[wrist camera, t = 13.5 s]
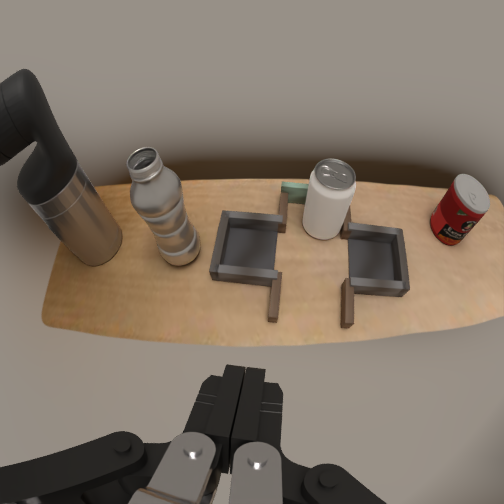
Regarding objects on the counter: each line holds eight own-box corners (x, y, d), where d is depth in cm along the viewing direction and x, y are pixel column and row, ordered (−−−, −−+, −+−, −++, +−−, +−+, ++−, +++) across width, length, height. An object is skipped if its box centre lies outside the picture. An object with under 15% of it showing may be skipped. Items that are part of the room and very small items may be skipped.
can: (309, 203, 50) (319, 150, 39) (345, 216, 48) (363, 166, 38) (295, 231, 47) (304, 180, 36) (333, 247, 45) (352, 198, 35)
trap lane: (205, 314, 41) (200, 305, 37) (230, 193, 51) (228, 177, 48) (403, 330, 38) (415, 322, 35) (391, 210, 49) (398, 196, 45)
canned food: (434, 245, 45) (464, 209, 35) (424, 209, 49) (448, 170, 39) (465, 247, 44) (496, 214, 35) (454, 212, 48) (480, 176, 39)
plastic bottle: (202, 230, 48) (173, 133, 30) (204, 268, 44) (169, 175, 27) (163, 235, 47) (119, 144, 30) (163, 273, 44) (108, 187, 27)
